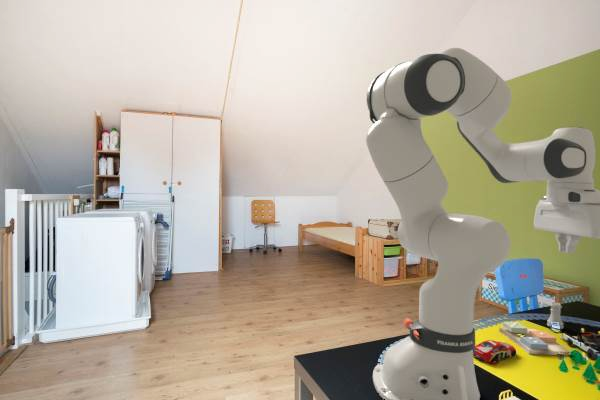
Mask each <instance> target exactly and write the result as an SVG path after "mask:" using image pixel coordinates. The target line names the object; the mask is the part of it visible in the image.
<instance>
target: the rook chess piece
mask: <svg viewBox="0 0 600 400" xmlns="http://www.w3.org/2000/svg"><path fill="white" fill-rule="evenodd" d="M549 306H550V316H549V317H548V319H547V320H546V321H547V323H546V325H547V326H548V327H549V326H550V324H551V322H559V325H560V328H561V329H560V330H563V329H564V325H565V324H564V322H563V320H562V318H561V317H562V316H561V312H562V311H561V309H562V308H563V306H562V304H561V303H560V302H558V301H557V302H556V301H551V302H550V303H549Z"/></svg>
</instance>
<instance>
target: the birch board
mask: <svg viewBox="0 0 600 400" xmlns="http://www.w3.org/2000/svg"><path fill="white" fill-rule="evenodd" d="M498 331H499V332H500V333H501V334H503V335H504V336H505V337H506V338H508V339H509V340H510V341H511V342H513V343H515V344H516V345H517V346H518V347H520V348H521V349H522V350H523V351H524V352H527V354H529V355H549V356H550V355H551V356H558V355H557V354H558V352H560V351H562V352H563V353H564V355H563V356H568V355H569V353H570V352H572V351H571V350H569V349H568V348H567V347H564V346H563V345H561V344H560V343H558V342H557V341H556V343H547V342H545V343H547V344H548V350H546V349H530V348H529V347H527V346H526V345H525V344H523V343H522V342H520V337H518V336H517V334H524V335H525V336H526V337H531V336H530V335H529V331H539V330H538V329H535V328H527V333H515V332H510V331H509V330H507V329H506V328H505V327H499V329H498Z"/></svg>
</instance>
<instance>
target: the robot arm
mask: <svg viewBox="0 0 600 400" xmlns="http://www.w3.org/2000/svg"><path fill="white" fill-rule="evenodd" d="M366 92H367V93H366V105H367V109H368V111H369V119H370V121H371V123H372V125H371V126H370V127H369V130H368V131H367V134H366V136H365V142H366V145H367V149H368V151H369V154H370V157H371V159H372V162H373V164H374V167H375V168H376V170H377V172H378V174H379V177H380V178H381V179H382V181H383V183H384V185H385V186H386V188H387V190H388V192H389V193H390V195H391V197H392V199H393V200H394V202H395V204H396V205H397V208H398V211H399V213H400V219H401V220H400V222H399V224H398V226H397V238H398V243H399V244H400V246H401V247H402V248H403V249H404V250H407V251H408V252H410V253H412V254H414V255H415V256H417V257H419V258H424V259H428V260H432V261H435V262H437V266H438V267H437V269H436V273H435V275H434V277H433V278H430V279H427V280H426V281H425V282H423V284H422V285H421V286H420V288H419V291H418V292H419V293H418V295H419V297H418V298H419V299H418V301H419V302H418V307H419V308H418V318H417V320H416V321H415V322H413V320H412V319H411V318H408V317H407V318H405V319H404V320H403V325H404V327H405V328H406V330H409V335H408V336H406V337H405V338H403V339H402V340H400V341H399V342H396V343H395V344H393V345H392V346H390V347H389V348H387V350H386V352H385V354H384V358H383V362H382V364H377V365H375V367H374V369H373V371H372V381H373V385H374V388H375V390H376V392H377V394H378V393H379V394H378V395H379V396H380V397H381V398H382V400H384V399H385V400H480V398H481V394H480V390H479V387H478V382H477V378H476V377H477V376H476V372H475V371H476V370H475V361H474V356H473V354H474V353H475V346H476V329H475V328H474V313H475V301H476V296H477V291H478V289H479V286H480V285H481V283H482V281H483V279H484V278H485V277H486V276H487V275H488V274H489V273H491V272H492V271H494V270H496V269H498V268H500V266H502V265H503V264H504V263H505V262H506V261H507V259H508V257H509V255H510V251H511V239H510V236H509V235H510V234H509V232H508V231H507V229H506V227H505V226H504V225H503V224H502V223H501V222H499V221H497V220H496V221H495V220H492V219H489V218H487V217H483V216H479V215H474V214H463V213H461V214H460V213H452V212H451V213H450V212H448V211H446V210H445V208H444V207H443V206H442V202H443V200H444V199H445V198H446V195H447V194H448V190H449V182H448V179H447V178H446V176H445V174H444V172H443V169H441V167H440V165H439V162H438V161H437V159H436V157H435V155H434V154H433V151H432V149H431V148H430V146H429V144H428V143H427V142H426V140H425V138H424V135H423V132H422V122H421V121H422V118H426V117H431V116H432V117H433V116H437V115H439V114H441V113H443V112H445V111H447V113H448V114H450V115H451V116H452V117H454V119H455V120H456V126H457V130H458V132H459V134H460V135H461V136H462V138H464V140H465V141H466V142H467V143H468V144H469V146H470V147H471V148H472V149H473V151H475V153H476V154H478V156H479V157H480V158H481V160H483V162H484V163H485V165H486V166H487V168H488V169H489V172H490V174H491V175H492V176H493V177H494V179H495V180H496V181H498V182H499V183H502V184H511V183H512V184H513V183H519V182H540V181H546V195H543V196H542V197H541V198H540V199H539V200H538V203H537V204H536V206H535V207H536V208H535V211H534V218H533V227H534V229H535V230H539V231H545V232H550V233H551V232H552V233H555V235H554V236H555V239H556V242H557V244H558V252H561V253H565V254H575V253H576V246H577V245H578V244H579V242H580V241H581V237H584V238H590V239H591V238H592V239H600V189H598V188H595V181H594V177H593V172H594V171H593V170H594V168H595V166H596V146H595V144H596V143H595V139H594V134H593V132H592V130H591V129H587V128H585V127H580V126H565V127H560V128H557V129H555V130H554V131H552V133H551V135H549V136H547V137H545V138H542V139H539V140H538V139H537V140H533V141H532V140H531V141H525V142H518V143H517V142H516V143H515V142H514V143H512V142H511V143H509V142H506V141H505V142H504V141H502V139H501V138H500V136H499V135H498V134H496V132H495V131H494V130H493V129H494V128H495V127H496V126H497V125H498V124H500V123H501V121H502V120H503V119H504V118H505V117H506V116H507V114H508V112H509V110H510V109H511V108H510V107H511V104H512V91H511V88H510V87H509V84H507V82H506V81H505V80H504V79H503V78H502V77H501V76H500V75H499V74H498V73H497V72H496V71H495V70H494V69H493V68H491V67H490V66H489V65H488V64H487V63H485V62H484V61H482V60H481V59H480V58H478V57H477V56H475V55H474V54H472V53H470V52H468V50H465V49H464V48H460V47H452V48H448V49H445V50H443V51H442V52H440V53H428V54H424V55H421V56H418V57H417V58H415V59H411V60H408V61H405V62H401V63H398V64H397V65H394V66H393V67H391V68H388V70H387V71H383V72H381V73H380V74H378V75H377V76H376V77H375V78H374V79H373V80H372V81H371V83H370V85H369V86H368V88H367V91H366Z"/></svg>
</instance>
